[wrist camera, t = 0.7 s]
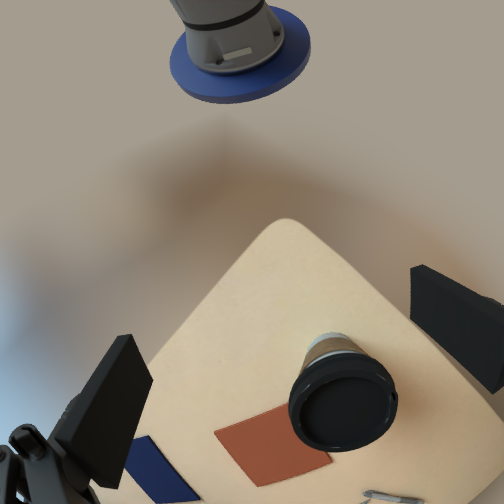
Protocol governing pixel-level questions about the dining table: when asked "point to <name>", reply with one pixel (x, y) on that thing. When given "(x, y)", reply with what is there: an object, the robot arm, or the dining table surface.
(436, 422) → the dining table surface
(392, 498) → the pen
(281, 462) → the terracotta mat
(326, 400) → the coffee cup
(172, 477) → the navy mat
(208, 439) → the dining table surface
